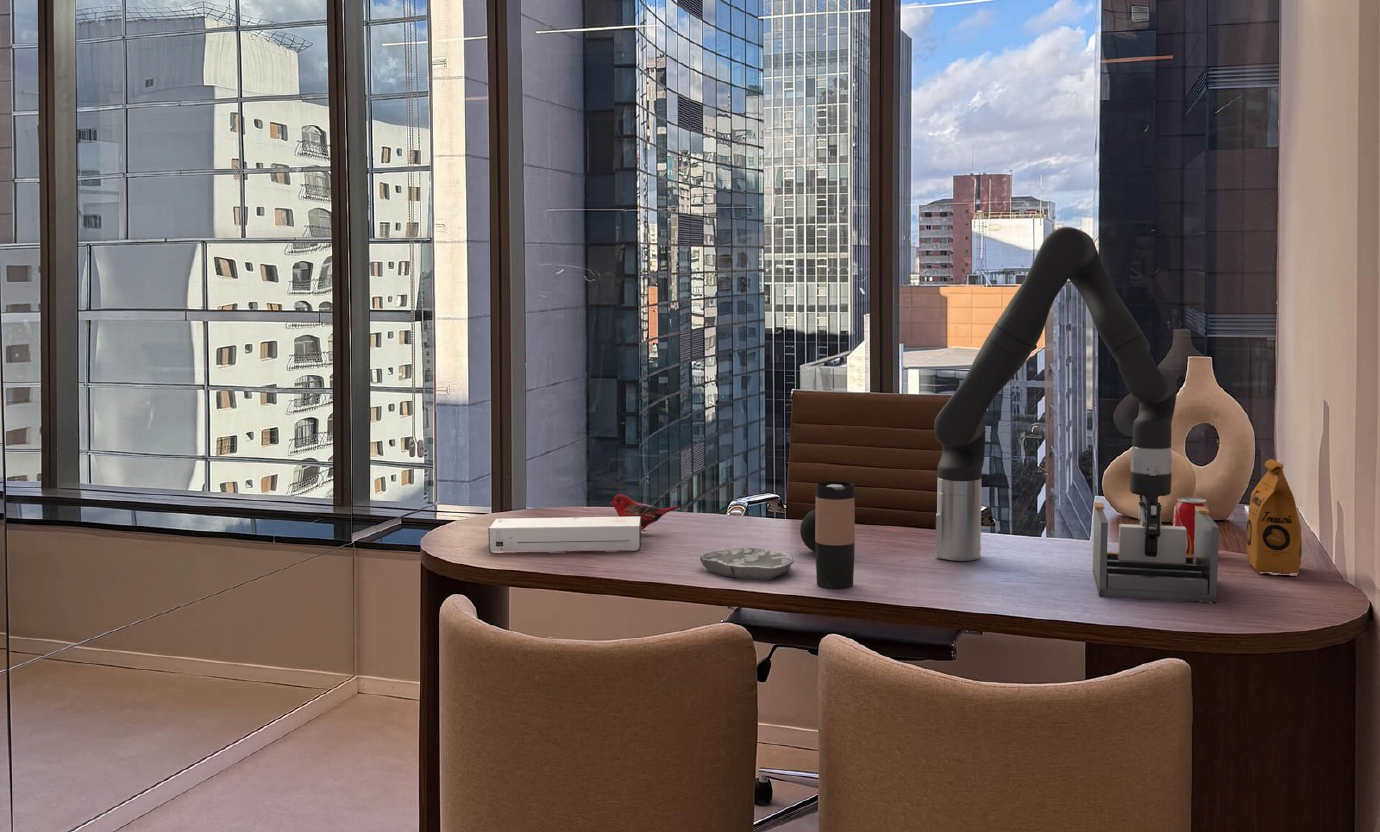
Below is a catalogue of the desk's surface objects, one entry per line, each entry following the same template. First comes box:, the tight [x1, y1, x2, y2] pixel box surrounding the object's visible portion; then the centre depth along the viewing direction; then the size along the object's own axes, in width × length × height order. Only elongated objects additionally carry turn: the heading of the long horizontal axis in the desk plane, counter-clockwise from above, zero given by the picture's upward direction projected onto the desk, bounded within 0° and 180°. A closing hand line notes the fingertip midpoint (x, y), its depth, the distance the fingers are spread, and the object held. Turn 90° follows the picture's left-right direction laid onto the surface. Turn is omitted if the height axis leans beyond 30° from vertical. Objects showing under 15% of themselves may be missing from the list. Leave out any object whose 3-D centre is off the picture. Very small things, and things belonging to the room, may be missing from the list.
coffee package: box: [1245, 458, 1303, 574], centre depth 226 cm, size 10×12×22 cm
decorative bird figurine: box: [609, 493, 681, 532], centre depth 270 cm, size 3×18×10 cm, turn 106°
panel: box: [1118, 523, 1187, 564], centre depth 220 cm, size 12×3×9 cm, turn 74°
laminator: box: [488, 516, 642, 552], centre depth 256 cm, size 34×12×6 cm, turn 92°
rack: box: [1092, 502, 1220, 603], centre depth 215 cm, size 21×20×14 cm
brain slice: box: [699, 547, 795, 580], centre depth 233 cm, size 20×17×3 cm
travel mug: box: [815, 480, 856, 590], centre depth 219 cm, size 8×8×20 cm
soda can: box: [1172, 496, 1210, 558], centre depth 241 cm, size 7×7×12 cm
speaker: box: [799, 508, 816, 553], centre depth 247 cm, size 10×10×10 cm
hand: (1148, 551), depth 221 cm, fingers open, 8 cm apart
